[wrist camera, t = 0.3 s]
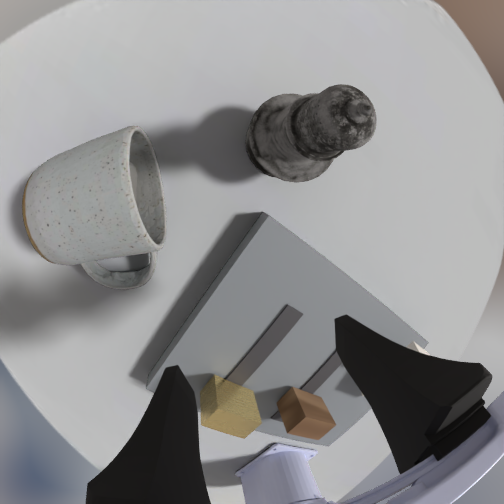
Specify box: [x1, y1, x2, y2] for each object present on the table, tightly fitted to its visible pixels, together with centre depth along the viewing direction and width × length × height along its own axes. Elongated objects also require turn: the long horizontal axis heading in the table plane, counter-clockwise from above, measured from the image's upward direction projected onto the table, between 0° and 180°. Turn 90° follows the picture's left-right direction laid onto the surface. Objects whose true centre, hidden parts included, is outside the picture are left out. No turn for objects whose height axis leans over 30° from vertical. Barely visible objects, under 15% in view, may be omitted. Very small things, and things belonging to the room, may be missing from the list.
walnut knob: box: [277, 387, 336, 440], centre depth 21 cm, size 2×4×4 cm, turn 54°
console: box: [146, 212, 429, 446], centre depth 23 cm, size 18×24×5 cm
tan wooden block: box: [200, 375, 262, 438], centre depth 20 cm, size 2×4×4 cm, turn 54°
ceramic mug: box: [22, 126, 167, 289], centre depth 15 cm, size 11×8×8 cm
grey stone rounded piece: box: [246, 85, 376, 182], centre depth 14 cm, size 6×6×12 cm
